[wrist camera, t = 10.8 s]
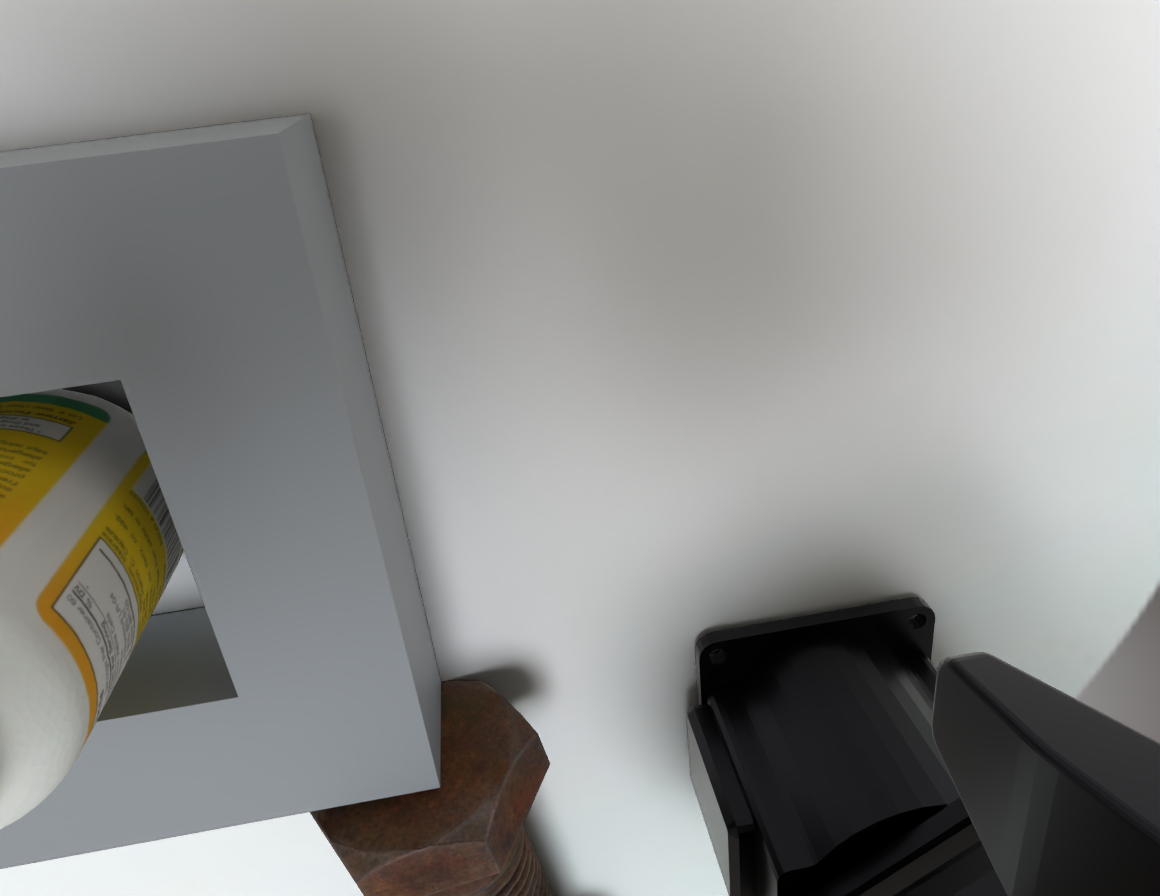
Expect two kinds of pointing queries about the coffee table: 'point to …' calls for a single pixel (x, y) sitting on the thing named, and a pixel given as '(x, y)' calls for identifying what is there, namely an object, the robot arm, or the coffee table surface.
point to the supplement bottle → (70, 577)
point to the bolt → (453, 811)
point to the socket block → (225, 482)
